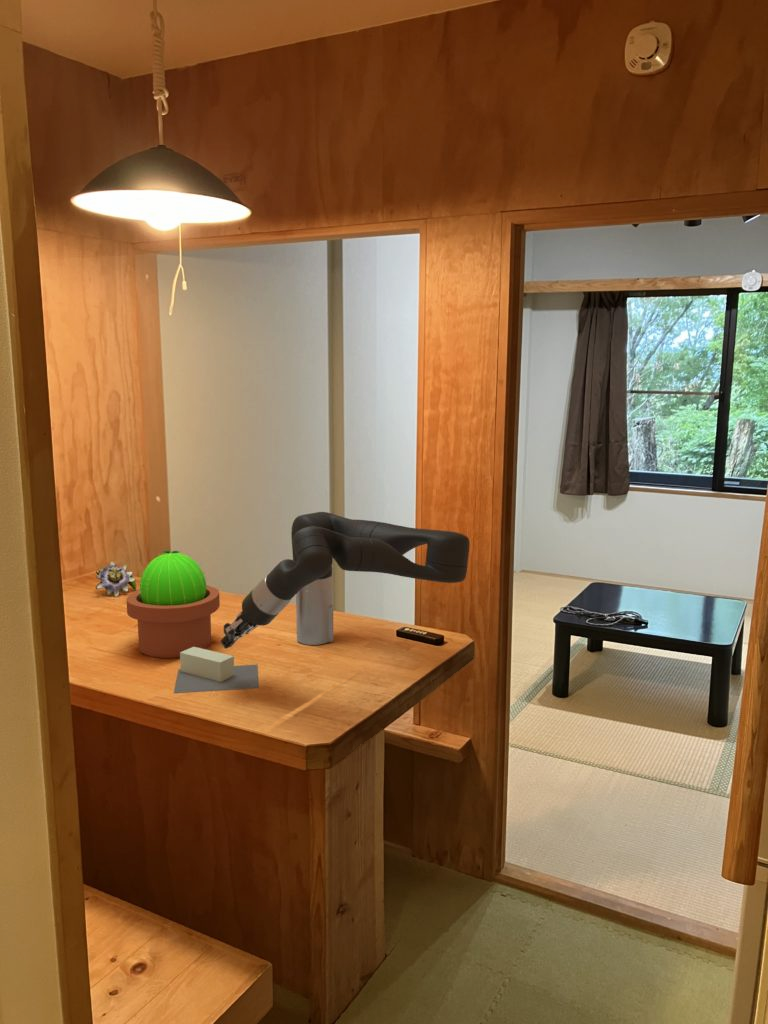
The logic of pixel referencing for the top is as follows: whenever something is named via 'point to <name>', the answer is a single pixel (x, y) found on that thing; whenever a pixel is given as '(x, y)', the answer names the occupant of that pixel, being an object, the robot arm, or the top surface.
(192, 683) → the rubber mat
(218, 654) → the sage block
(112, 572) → the passion flower
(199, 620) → the potted cactus
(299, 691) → the top surface
